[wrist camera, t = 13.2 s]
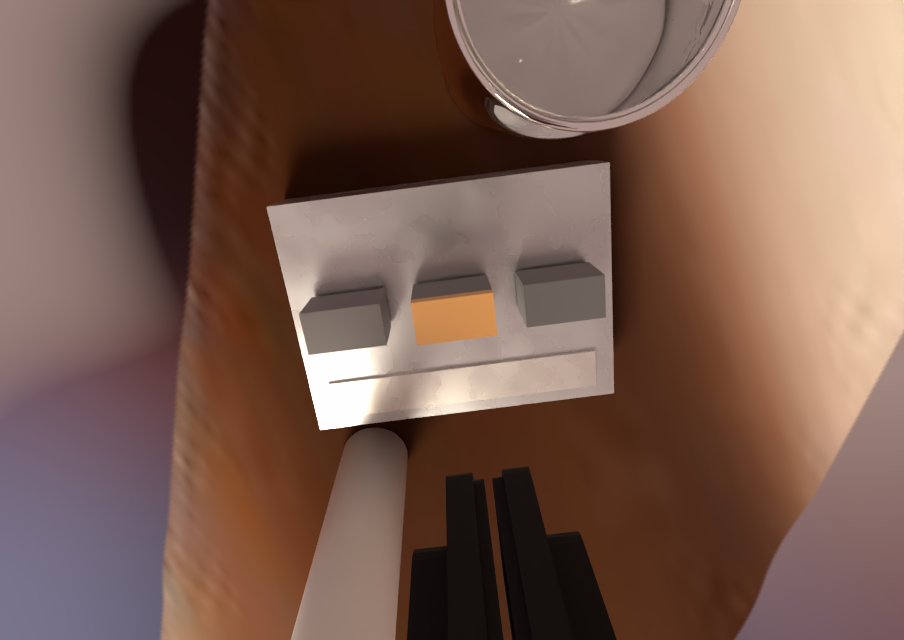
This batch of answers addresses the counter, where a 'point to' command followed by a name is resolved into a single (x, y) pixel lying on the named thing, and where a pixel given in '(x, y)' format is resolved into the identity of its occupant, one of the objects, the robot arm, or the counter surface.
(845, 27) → the counter surface
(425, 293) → the paddle mid
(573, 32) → the beer glass
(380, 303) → the grey rectangular box
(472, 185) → the breaker panel
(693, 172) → the counter surface
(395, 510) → the post
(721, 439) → the counter surface
